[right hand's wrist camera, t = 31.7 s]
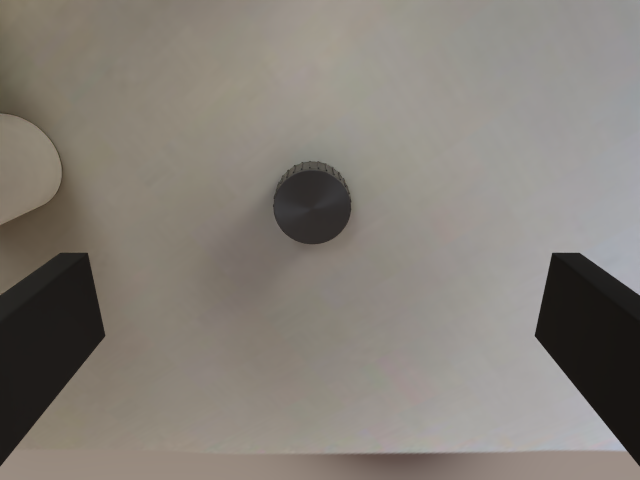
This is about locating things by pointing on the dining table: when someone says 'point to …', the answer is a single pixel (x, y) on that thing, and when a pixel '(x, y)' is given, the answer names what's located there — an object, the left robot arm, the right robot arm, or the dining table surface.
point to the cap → (312, 203)
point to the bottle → (25, 167)
